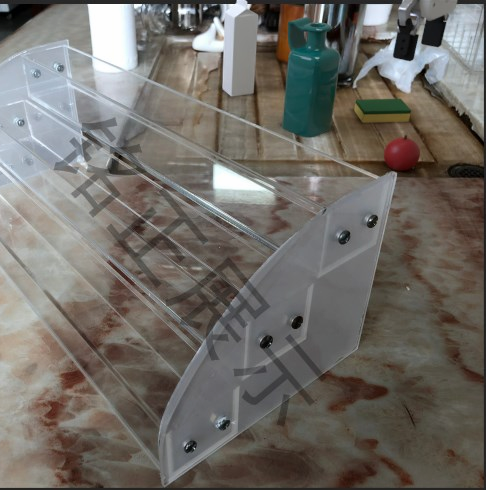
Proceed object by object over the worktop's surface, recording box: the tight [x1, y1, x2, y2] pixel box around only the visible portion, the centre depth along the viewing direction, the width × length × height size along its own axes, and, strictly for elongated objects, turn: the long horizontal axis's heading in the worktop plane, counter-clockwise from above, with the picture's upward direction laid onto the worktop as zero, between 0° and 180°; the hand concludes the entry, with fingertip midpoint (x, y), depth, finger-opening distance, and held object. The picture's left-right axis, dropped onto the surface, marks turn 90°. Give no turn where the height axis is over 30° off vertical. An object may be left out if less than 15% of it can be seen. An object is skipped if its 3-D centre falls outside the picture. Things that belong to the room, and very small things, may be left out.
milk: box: [221, 0, 259, 97], centre depth 142 cm, size 6×6×22 cm
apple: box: [383, 134, 421, 172], centre depth 110 cm, size 6×6×7 cm
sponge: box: [354, 98, 412, 124], centre depth 131 cm, size 10×7×3 cm
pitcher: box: [281, 16, 341, 138], centre depth 122 cm, size 10×8×22 cm
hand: (417, 52), depth 96 cm, fingers open, 9 cm apart
